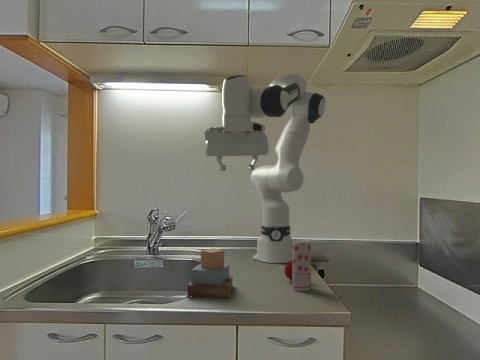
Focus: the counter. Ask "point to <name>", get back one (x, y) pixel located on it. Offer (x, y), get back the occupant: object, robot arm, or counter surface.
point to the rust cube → (212, 258)
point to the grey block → (209, 275)
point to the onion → (289, 269)
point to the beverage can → (301, 265)
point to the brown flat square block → (210, 289)
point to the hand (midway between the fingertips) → (237, 170)
